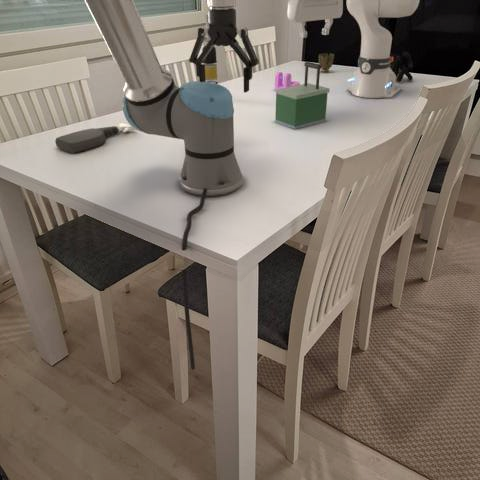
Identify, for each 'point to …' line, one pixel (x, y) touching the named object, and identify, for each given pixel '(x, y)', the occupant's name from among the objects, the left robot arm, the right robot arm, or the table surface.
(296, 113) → the chest
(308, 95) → the lid
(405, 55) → the squiggle
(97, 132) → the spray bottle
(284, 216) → the table surface
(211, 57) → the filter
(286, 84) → the bracket
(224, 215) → the table surface
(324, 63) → the cup
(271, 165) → the table surface
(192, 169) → the left robot arm
